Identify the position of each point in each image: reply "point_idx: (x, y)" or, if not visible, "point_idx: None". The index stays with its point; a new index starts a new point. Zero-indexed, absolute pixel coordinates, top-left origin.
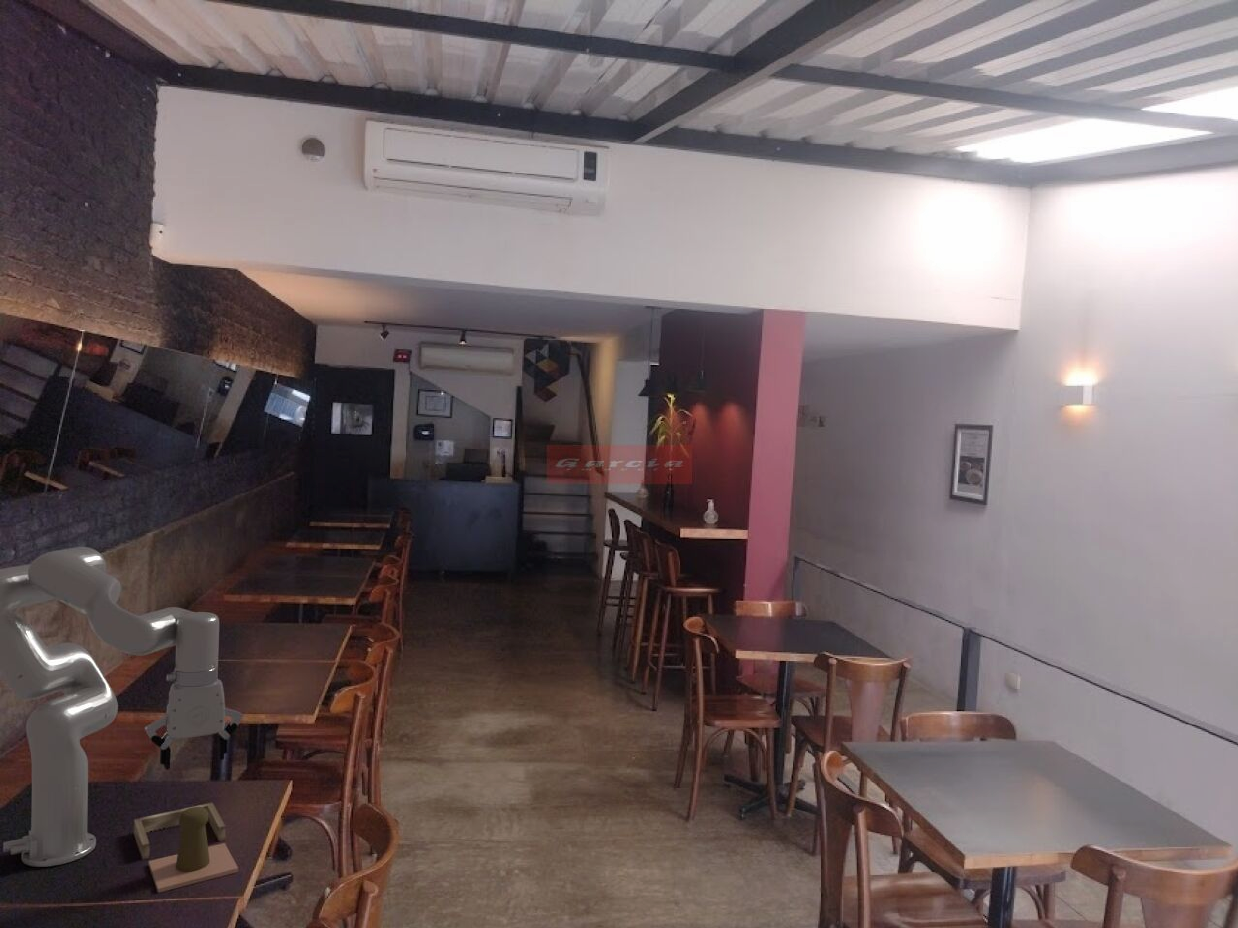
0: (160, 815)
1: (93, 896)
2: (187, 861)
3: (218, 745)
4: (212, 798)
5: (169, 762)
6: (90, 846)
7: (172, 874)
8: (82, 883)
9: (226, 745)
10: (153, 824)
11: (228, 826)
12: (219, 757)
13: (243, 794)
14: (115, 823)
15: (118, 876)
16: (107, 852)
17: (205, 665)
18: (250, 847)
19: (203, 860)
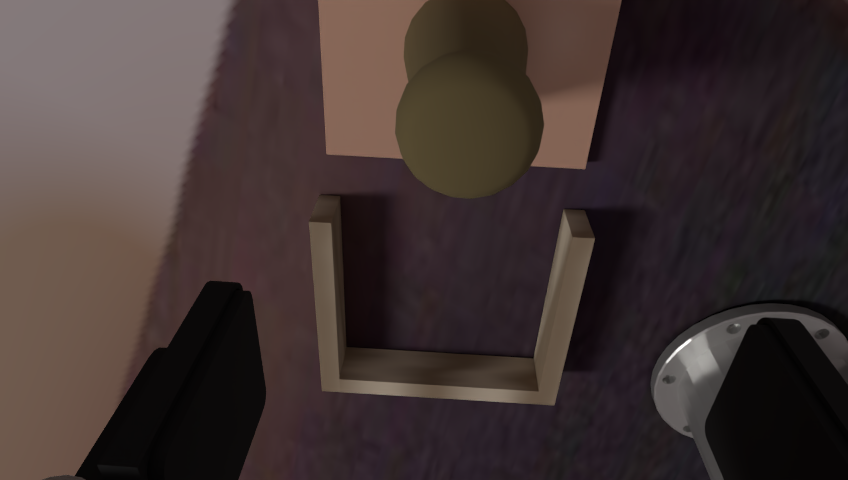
0: (481, 390)
1: (815, 41)
2: (502, 10)
3: (221, 456)
4: (312, 440)
5: (794, 366)
6: (689, 342)
7: (552, 13)
8: (792, 158)
9: (125, 412)
10: (500, 371)
11: (295, 274)
12: (249, 317)
13: None
14: (568, 436)
15: (688, 139)
16: (647, 305)
17: None
18: (244, 87)
19: (436, 6)
